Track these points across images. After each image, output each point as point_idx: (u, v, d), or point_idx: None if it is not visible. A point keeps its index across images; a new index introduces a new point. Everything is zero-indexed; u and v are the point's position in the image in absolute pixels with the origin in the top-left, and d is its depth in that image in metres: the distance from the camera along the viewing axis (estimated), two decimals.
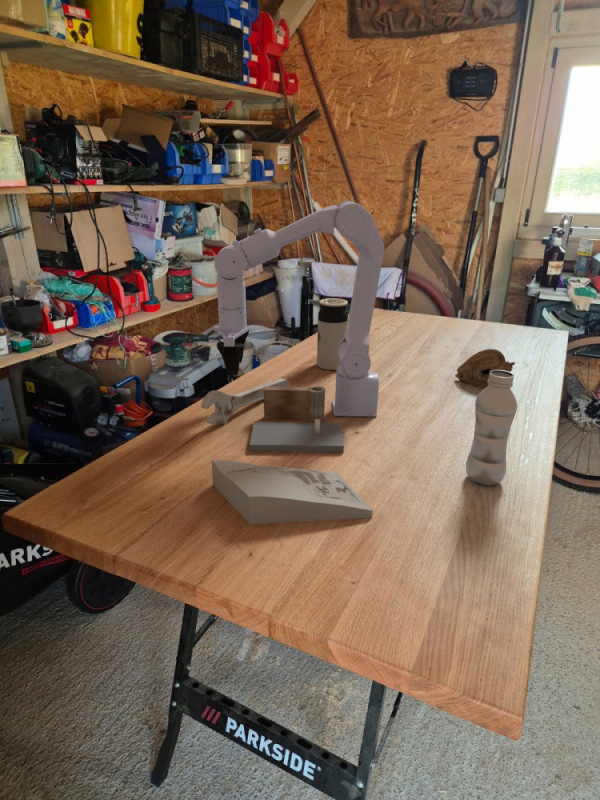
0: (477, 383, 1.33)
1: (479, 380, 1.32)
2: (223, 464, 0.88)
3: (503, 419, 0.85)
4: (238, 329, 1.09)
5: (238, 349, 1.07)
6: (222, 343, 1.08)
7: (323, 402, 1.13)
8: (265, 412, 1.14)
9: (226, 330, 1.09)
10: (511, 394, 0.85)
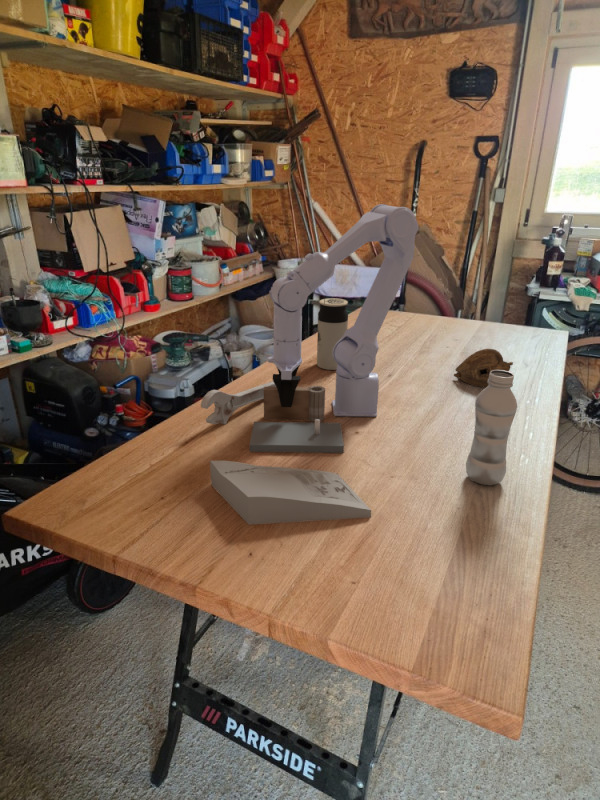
0: (475, 383, 1.33)
1: (477, 380, 1.32)
2: (221, 464, 0.88)
3: (503, 419, 0.85)
4: (294, 361, 1.07)
5: (294, 382, 1.05)
6: (278, 375, 1.06)
7: (323, 402, 1.13)
8: (265, 412, 1.14)
9: (281, 362, 1.07)
10: (511, 394, 0.85)
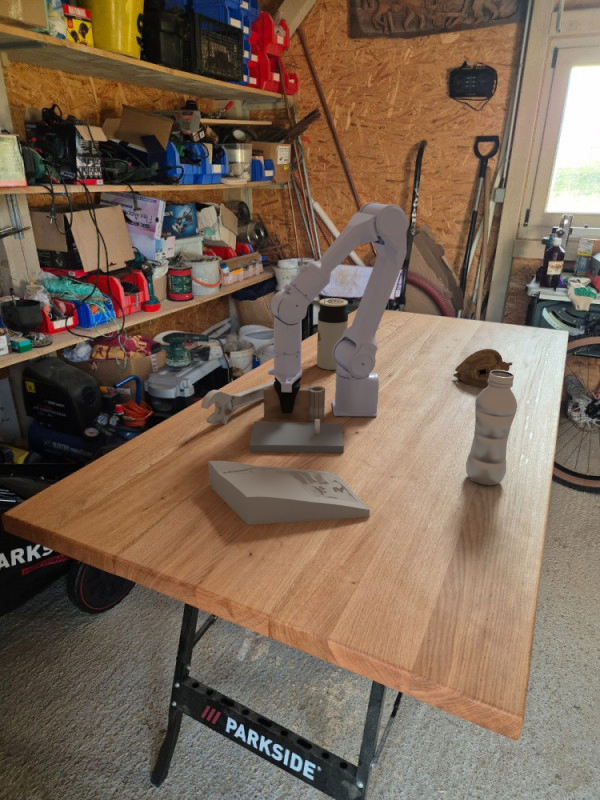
0: (475, 383, 1.33)
1: (476, 380, 1.32)
2: (220, 465, 0.88)
3: (503, 419, 0.85)
4: (294, 373, 1.08)
5: (295, 389, 1.09)
6: (279, 383, 1.10)
7: (323, 402, 1.13)
8: (265, 412, 1.14)
9: (282, 374, 1.08)
10: (511, 394, 0.85)
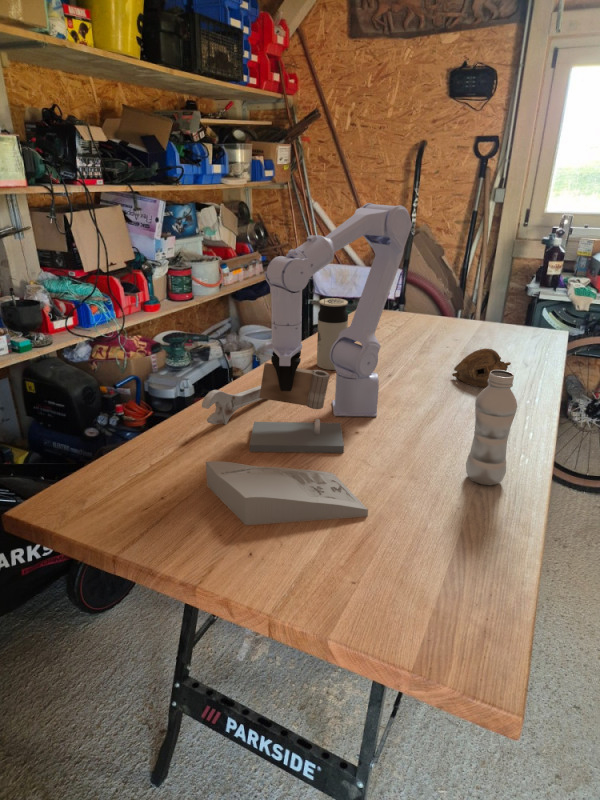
0: (473, 382, 1.33)
1: (474, 379, 1.32)
2: (217, 465, 0.88)
3: (503, 419, 0.85)
4: (293, 346, 1.00)
5: (294, 364, 1.00)
6: (277, 357, 1.01)
7: (325, 388, 1.05)
8: (262, 390, 1.05)
9: (280, 347, 1.00)
10: (511, 394, 0.85)
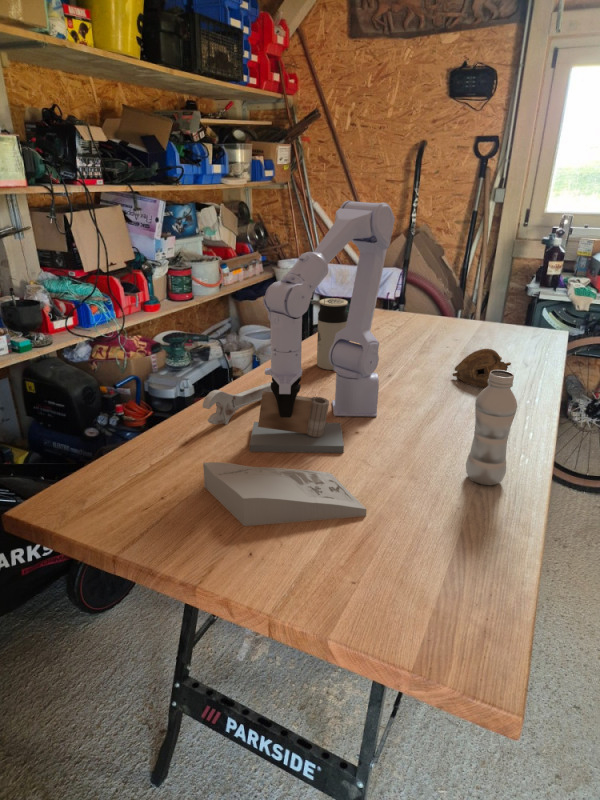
0: (473, 382, 1.33)
1: (475, 379, 1.32)
2: (215, 466, 0.87)
3: (503, 419, 0.85)
4: (293, 373, 0.98)
5: (294, 391, 0.98)
6: (276, 384, 0.99)
7: (325, 416, 1.03)
8: (260, 419, 1.03)
9: (280, 374, 0.97)
10: (511, 394, 0.85)
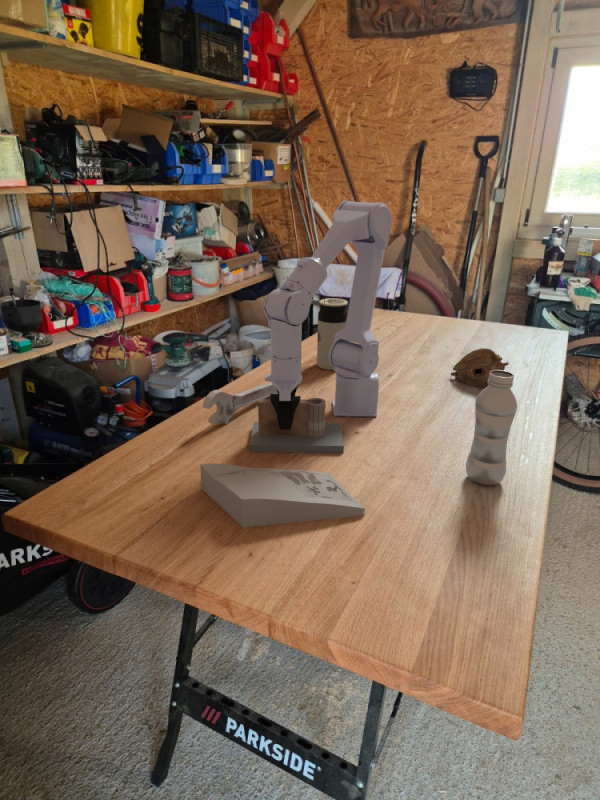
0: (471, 382, 1.34)
1: (472, 379, 1.33)
2: (212, 467, 0.87)
3: (503, 419, 0.85)
4: (293, 380, 0.98)
5: (294, 403, 0.96)
6: (276, 396, 0.97)
7: (323, 416, 1.03)
8: (260, 427, 1.04)
9: (280, 381, 0.98)
10: (511, 394, 0.85)
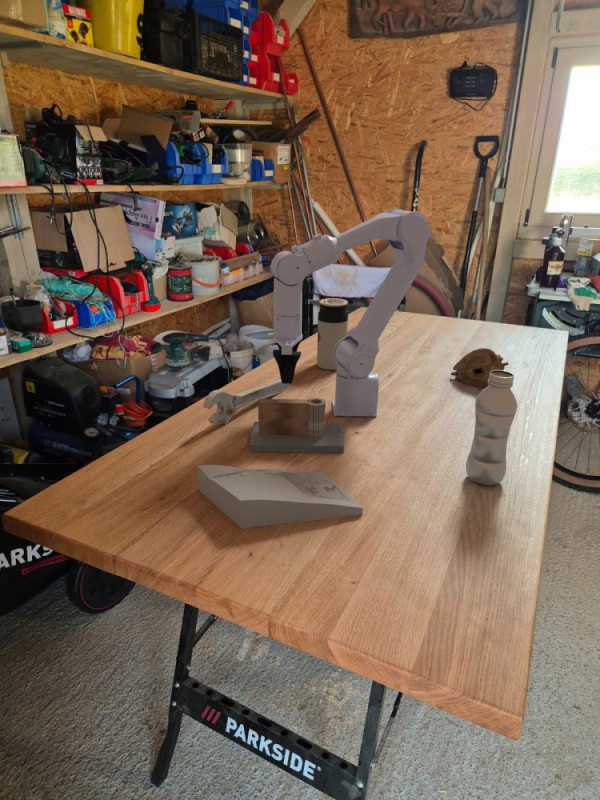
0: (470, 382, 1.34)
1: (472, 379, 1.33)
2: (209, 469, 0.87)
3: (503, 419, 0.85)
4: (294, 336, 1.06)
5: (295, 357, 1.04)
6: (278, 351, 1.05)
7: (323, 416, 1.03)
8: (260, 427, 1.04)
9: (282, 337, 1.06)
10: (511, 394, 0.85)
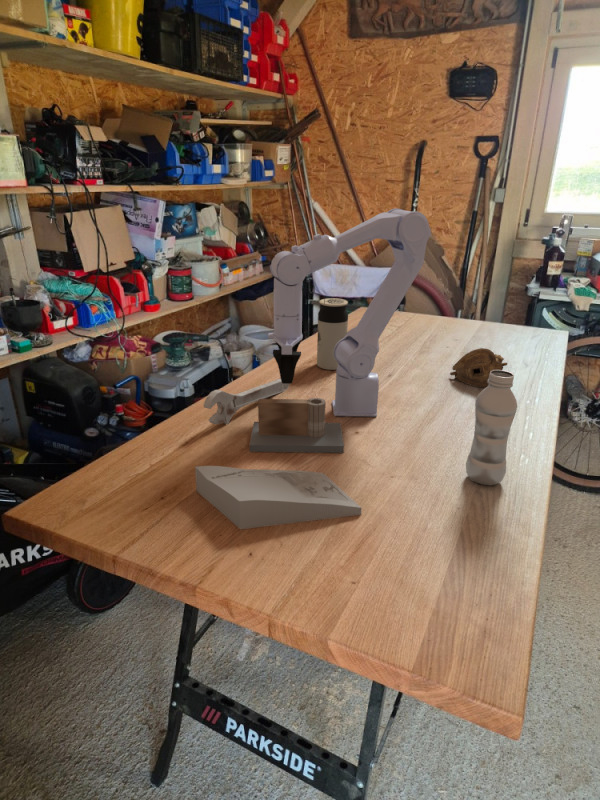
0: (469, 382, 1.34)
1: (471, 379, 1.33)
2: (207, 470, 0.86)
3: (503, 419, 0.85)
4: (294, 336, 1.06)
5: (295, 357, 1.04)
6: (278, 351, 1.05)
7: (323, 416, 1.03)
8: (260, 427, 1.04)
9: (282, 337, 1.06)
10: (511, 394, 0.85)
